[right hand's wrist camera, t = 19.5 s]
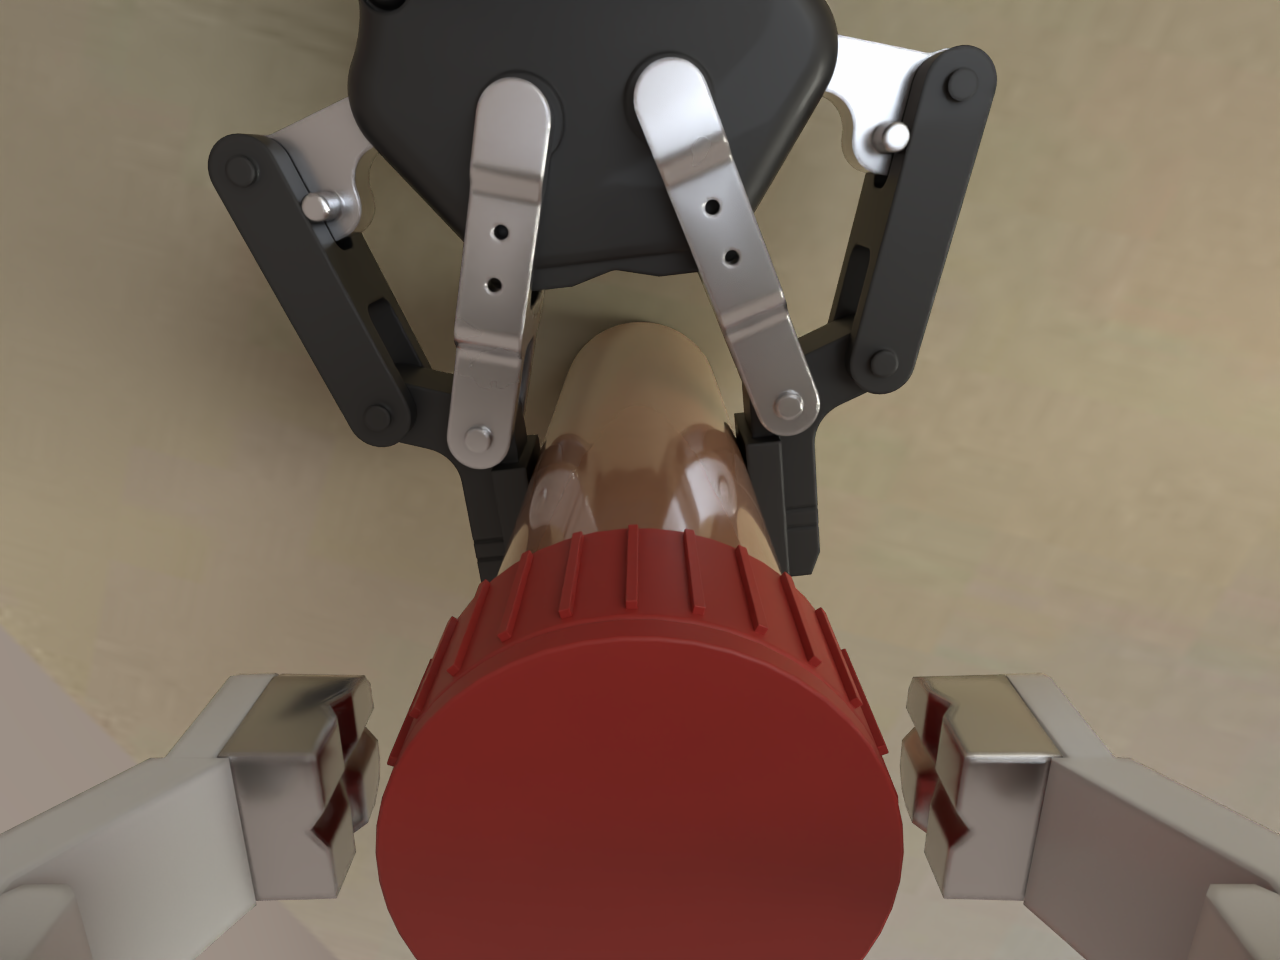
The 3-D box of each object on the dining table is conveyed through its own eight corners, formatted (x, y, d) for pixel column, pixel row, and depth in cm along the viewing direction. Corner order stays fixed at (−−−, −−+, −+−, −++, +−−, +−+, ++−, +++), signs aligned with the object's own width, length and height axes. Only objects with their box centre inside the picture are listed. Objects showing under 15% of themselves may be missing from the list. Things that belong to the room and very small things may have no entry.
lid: (365, 796, 11) (293, 964, 9) (530, 444, 9) (495, 534, 7) (727, 934, 12) (748, 1122, 9) (936, 628, 10) (1021, 764, 8)
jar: (732, 337, 24) (904, 668, 8) (699, 482, 26) (795, 998, 10) (577, 308, 24) (452, 593, 8) (553, 456, 25) (407, 944, 10)
